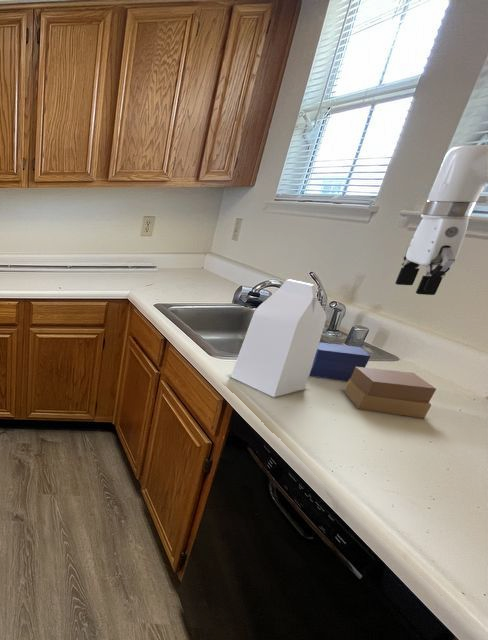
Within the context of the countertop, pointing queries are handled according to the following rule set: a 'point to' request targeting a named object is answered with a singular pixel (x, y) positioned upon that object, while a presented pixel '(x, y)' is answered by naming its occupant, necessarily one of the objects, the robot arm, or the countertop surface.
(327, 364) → the navy books
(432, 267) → the robot arm
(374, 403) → the tan books
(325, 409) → the countertop surface
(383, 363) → the countertop surface
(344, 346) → the navy book
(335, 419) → the countertop surface
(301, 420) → the countertop surface
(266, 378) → the milk
